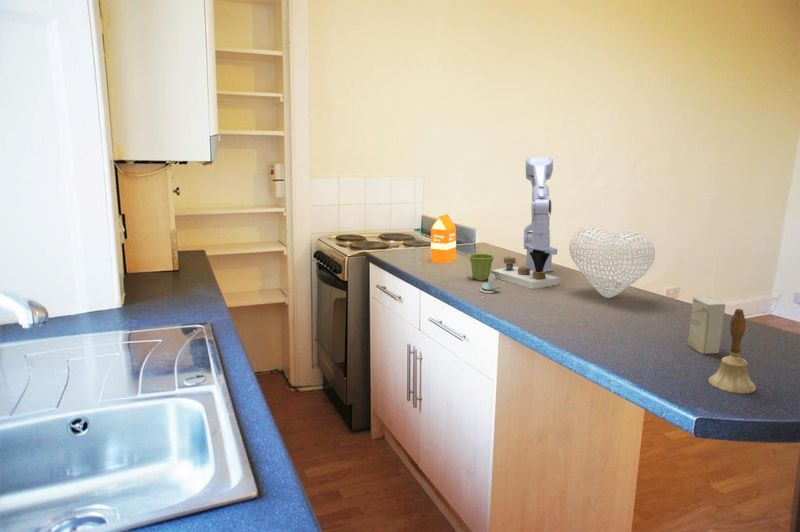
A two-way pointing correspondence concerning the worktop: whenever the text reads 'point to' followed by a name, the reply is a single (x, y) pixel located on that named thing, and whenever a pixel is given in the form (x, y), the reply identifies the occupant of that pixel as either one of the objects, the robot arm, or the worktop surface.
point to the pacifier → (490, 284)
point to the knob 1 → (509, 262)
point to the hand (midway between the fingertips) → (539, 271)
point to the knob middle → (523, 270)
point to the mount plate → (524, 278)
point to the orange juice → (443, 240)
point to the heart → (616, 236)
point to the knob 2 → (539, 275)
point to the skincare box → (706, 325)
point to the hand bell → (734, 362)
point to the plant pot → (481, 265)
